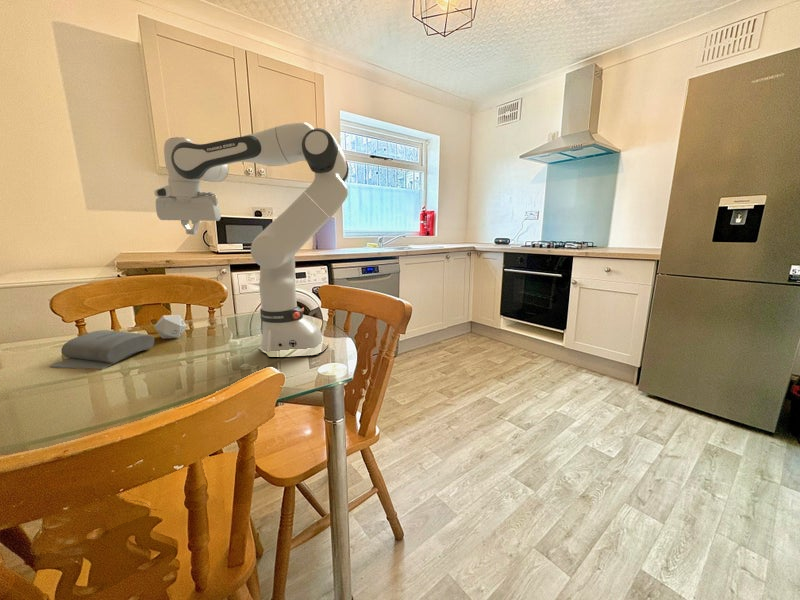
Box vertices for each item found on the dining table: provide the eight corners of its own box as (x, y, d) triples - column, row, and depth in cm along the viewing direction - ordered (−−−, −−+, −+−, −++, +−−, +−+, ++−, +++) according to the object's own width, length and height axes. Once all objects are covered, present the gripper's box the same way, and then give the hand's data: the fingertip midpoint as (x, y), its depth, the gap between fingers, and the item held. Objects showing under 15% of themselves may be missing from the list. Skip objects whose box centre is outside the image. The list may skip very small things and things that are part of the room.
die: (168, 345, 112) (184, 319, 114) (143, 332, 111) (161, 307, 113) (179, 344, 120) (195, 321, 122) (157, 333, 119) (173, 309, 121)
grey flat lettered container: (104, 347, 92) (51, 341, 96) (108, 365, 94) (56, 358, 98) (153, 330, 106) (105, 325, 110) (156, 346, 108) (109, 341, 112)
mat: (147, 347, 108) (147, 346, 108) (102, 369, 93) (102, 367, 92) (102, 345, 109) (102, 344, 109) (50, 367, 93) (50, 365, 93)
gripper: (221, 192, 109) (226, 234, 112) (164, 192, 110) (170, 233, 113) (210, 191, 103) (215, 235, 106) (149, 190, 104) (156, 234, 107)
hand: (192, 234), depth 110 cm, fingers closed
